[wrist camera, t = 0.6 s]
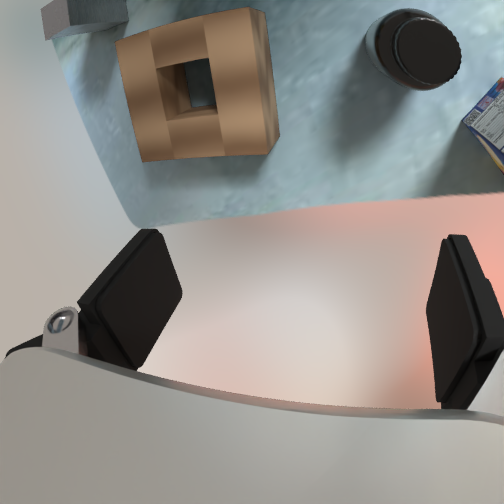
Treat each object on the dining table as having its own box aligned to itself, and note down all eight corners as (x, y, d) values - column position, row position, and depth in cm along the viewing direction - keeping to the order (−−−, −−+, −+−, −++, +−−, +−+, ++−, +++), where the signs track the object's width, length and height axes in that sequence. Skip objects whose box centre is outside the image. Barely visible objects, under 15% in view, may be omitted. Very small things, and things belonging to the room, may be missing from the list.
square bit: (99, 4, 27) (40, 9, 19) (124, -7, 26) (65, -8, 18) (104, 30, 29) (45, 40, 21) (128, 20, 28) (70, 26, 20)
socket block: (146, 37, 29) (114, 41, 25) (264, 12, 25) (248, 6, 21) (167, 143, 37) (142, 162, 33) (279, 136, 33) (267, 154, 29)
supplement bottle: (365, 75, 27) (377, 92, 18) (363, 12, 23) (374, -6, 14) (430, 83, 25) (472, 107, 16) (430, 21, 21) (474, 14, 12)
